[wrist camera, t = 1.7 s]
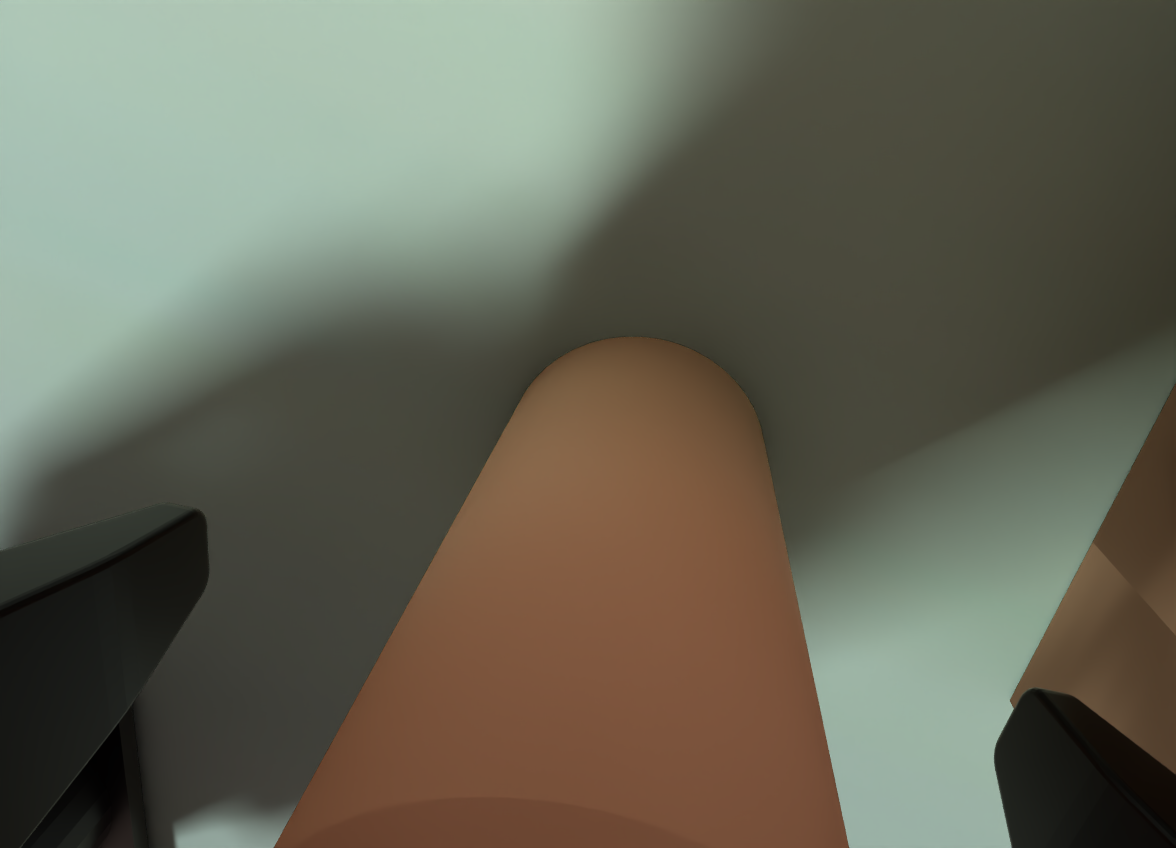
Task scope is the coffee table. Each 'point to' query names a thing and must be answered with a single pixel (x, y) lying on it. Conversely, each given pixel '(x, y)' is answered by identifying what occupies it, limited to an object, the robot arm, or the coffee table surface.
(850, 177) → the coffee table surface
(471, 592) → the peg
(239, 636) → the coffee table surface
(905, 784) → the coffee table surface
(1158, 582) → the hole block
